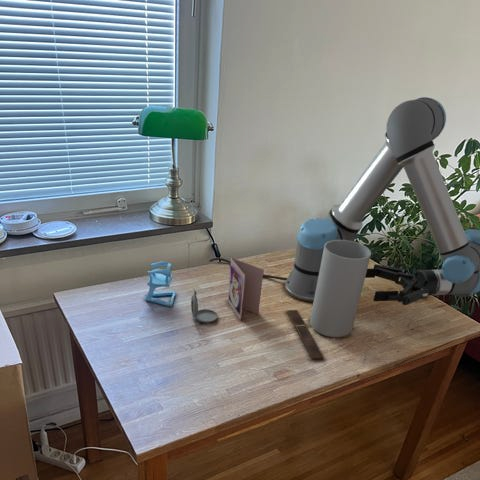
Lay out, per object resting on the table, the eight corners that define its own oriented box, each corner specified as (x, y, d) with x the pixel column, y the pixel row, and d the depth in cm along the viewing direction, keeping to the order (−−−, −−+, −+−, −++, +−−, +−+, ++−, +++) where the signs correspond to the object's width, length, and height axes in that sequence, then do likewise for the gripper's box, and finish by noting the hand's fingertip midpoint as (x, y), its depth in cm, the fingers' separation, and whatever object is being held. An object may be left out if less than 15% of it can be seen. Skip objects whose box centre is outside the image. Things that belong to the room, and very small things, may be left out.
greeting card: (225, 301, 147) (228, 257, 139) (246, 298, 150) (251, 255, 142) (237, 320, 139) (242, 275, 130) (260, 317, 141) (266, 272, 133)
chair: (149, 291, 149) (148, 257, 142) (175, 294, 149) (175, 259, 142) (144, 304, 142) (143, 268, 136) (171, 306, 142) (171, 271, 136)
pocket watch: (221, 318, 139) (224, 289, 133) (200, 329, 133) (202, 298, 128) (202, 307, 143) (204, 278, 138) (181, 317, 138) (182, 287, 132)
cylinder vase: (302, 318, 143) (316, 241, 129) (337, 312, 147) (354, 238, 134) (322, 341, 133) (340, 261, 120) (359, 335, 137) (380, 256, 124)
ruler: (287, 312, 145) (287, 310, 144) (296, 312, 145) (296, 309, 145) (312, 360, 125) (312, 357, 125) (322, 359, 126) (323, 357, 125)
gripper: (451, 316, 130) (380, 319, 126) (407, 274, 151) (345, 275, 146) (460, 292, 126) (387, 294, 122) (413, 253, 147) (350, 253, 142)
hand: (364, 284), depth 134 cm, fingers open, 13 cm apart
